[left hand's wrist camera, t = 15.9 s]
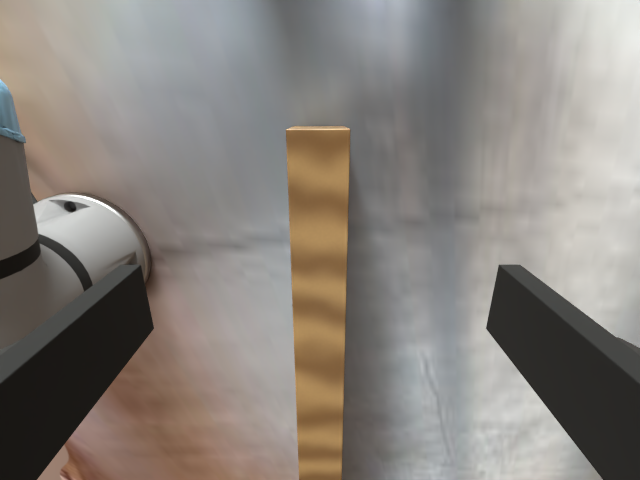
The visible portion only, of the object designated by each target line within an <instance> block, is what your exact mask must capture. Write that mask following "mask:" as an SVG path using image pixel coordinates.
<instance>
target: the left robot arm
mask: <svg viewBox="0 0 640 480" xmlns="http://www.w3.org/2000/svg"><path fill="white" fill-rule="evenodd" d="M23 143H26V139H25V137H24V136H23V135H22V134H21V131H20V127H19V123H18V119H17V115H16V111H15V107H14V102H13V98H12V95H11V93H10V91H9V89H8V88H7V86H6V85H5V84H4V83H3V82H2V81H1V80H0V480H37V479H38V477H39V476H40V475H41V474H42V472H43V471H44V470H45V468H46V467H47V466H48V465H49V463H50V462H51V461H52V459H53V458H54V457H55V455H56V454H57V453H58V452H59V450H60V449H61V448H62V446H63V445H64V444H65V443H66V441H67V440H68V439H69V437H70V436H71V435H72V434H73V432H74V431H75V430H76V428H77V427H78V426H79V424H80V423H81V422H82V421H83V419H84V418H85V417H86V415H87V414H88V413H89V412H90V410H91V409H92V408H93V406H94V405H95V404H96V403H97V401H98V400H99V399H100V397H101V396H102V395H103V393H104V392H105V391H106V390H107V388H108V387H109V386H110V384H111V383H112V382H113V381H114V379H115V378H116V377H117V375H118V374H119V373H120V372H121V370H122V369H123V368H124V366H125V365H126V364H127V362H128V361H129V360H130V359H131V357H132V356H133V355H134V353H135V352H136V351H137V350H138V348H139V347H140V346H141V344H142V343H143V342H144V341H145V339H146V338H147V337H148V335H149V334H150V333H151V331H152V330H153V329H154V327H153V322H152V317H151V312H150V307H149V302H148V297H147V292H146V287H145V283H146V282H147V279H148V277H149V273H150V268H151V256H150V251H149V247H148V244H147V241H146V239H145V237H144V235H143V233H142V232H141V230H140V228H139V227H138V226H137V224H136V223H135V222H134V221H133V220H132V219H131V218H130V217H129V216H128V215H127V214H126V213H125V212H124V211H123V210H121V209H120V208H118V207H117V206H116V205H114V204H112V203H110V202H109V201H106V200H104V199H102V198H99V197H97V196H93V195H89V194H84V193H63V194H58V195H55V196H52V197H49V198H45V199H43V200H41V201H38V202H37V200H36V199H35V197H34V196H33V194H32V193H31V189H30V183H29V177H28V170H27V164H26V157H25V151H24V144H23ZM486 329H487V330H488V331H489V333H490V334H491V335H492V337H493V338H494V339H495V341H496V342H497V343H498V344H499V346H500V347H501V348H502V350H503V351H504V352H505V353H506V355H507V356H508V357H509V359H510V360H511V361H512V362H513V364H514V365H515V366H516V368H517V369H518V370H519V372H520V373H521V374H522V375H523V377H524V378H525V379H526V381H527V382H528V383H529V384H530V386H531V387H532V388H533V390H534V391H535V392H536V393H537V395H538V396H539V397H540V399H541V400H542V401H543V403H544V404H545V405H546V406H547V408H548V409H549V410H550V412H551V413H552V414H553V415H554V417H555V418H556V419H557V421H558V422H559V423H560V424H561V426H562V427H563V428H564V430H565V431H566V432H567V434H568V435H569V436H570V437H571V439H572V440H573V441H574V443H575V444H576V445H577V446H578V448H579V449H580V450H581V452H582V453H583V454H584V455H585V457H586V458H587V459H588V461H589V462H590V463H591V465H592V466H593V467H594V468H595V470H596V471H597V472H598V474H599V475H600V476H601V477H602V479H603V480H640V348H638V347H636V346H634V345H632V344H630V343H628V342H626V341H625V340H623V339H621V338H616V337H615V336H613V335H612V334H611V333H610V332H608V331H607V330H606V329H604V328H603V327H602V326H600V325H599V324H598V323H596V322H595V321H594V320H592V319H591V318H590V317H588V316H587V315H586V314H584V313H583V312H582V311H580V310H579V309H578V308H576V307H575V306H574V305H572V304H571V303H570V302H568V301H567V300H566V299H565V298H563V297H562V296H561V295H559V294H558V293H557V292H555V291H554V290H553V289H551V288H550V287H549V286H547V285H546V284H545V283H543V282H542V281H541V280H539V279H538V278H537V277H535V276H534V275H533V274H531V273H530V272H529V271H527V270H526V269H525V268H523V267H522V266H521V265H499V267H498V272H497V277H496V282H495V287H494V292H493V297H492V302H491V307H490V312H489V317H488V322H487V327H486Z"/></svg>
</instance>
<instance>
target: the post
mask: <svg viewBox="0 0 640 480" xmlns="http://www.w3.org/2000/svg"><path fill="white" fill-rule="evenodd" d="M286 142H287V168H288V195H289V221H290V248H291V274H292V300H293V327H294V353H295V380H296V406H297V433H298V459H299V480H342V445H343V405H344V364H345V324H346V284H347V243H348V203H349V163H350V129H348V128H346V127H344V126H293V127H291V128H289V129H287V130H286Z"/></svg>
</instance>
